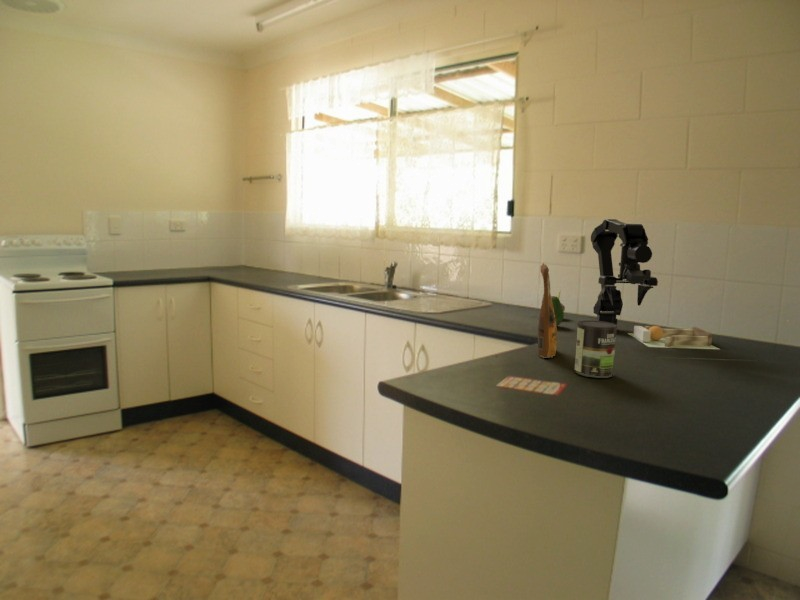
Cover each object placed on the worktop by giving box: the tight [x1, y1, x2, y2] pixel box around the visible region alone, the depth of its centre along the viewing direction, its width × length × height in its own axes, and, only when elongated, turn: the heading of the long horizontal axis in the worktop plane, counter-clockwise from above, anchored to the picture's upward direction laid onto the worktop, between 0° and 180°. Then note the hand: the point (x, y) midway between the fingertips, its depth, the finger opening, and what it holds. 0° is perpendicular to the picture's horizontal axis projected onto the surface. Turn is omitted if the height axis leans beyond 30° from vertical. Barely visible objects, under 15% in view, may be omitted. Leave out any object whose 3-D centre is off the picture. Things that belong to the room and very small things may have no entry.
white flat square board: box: [627, 332, 720, 350], centre depth 201 cm, size 23×22×1 cm
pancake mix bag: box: [537, 262, 558, 357], centre depth 179 cm, size 7×19×28 cm, turn 163°
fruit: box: [551, 295, 565, 327], centre depth 223 cm, size 8×8×12 cm
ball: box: [649, 325, 663, 340], centre depth 201 cm, size 5×5×5 cm
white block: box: [633, 325, 651, 343], centre depth 201 cm, size 2×9×4 cm, turn 177°
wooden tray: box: [644, 325, 713, 347], centre depth 201 cm, size 16×20×4 cm
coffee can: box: [574, 319, 618, 376], centre depth 158 cm, size 10×10×14 cm
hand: (625, 305), depth 201 cm, fingers open, 9 cm apart
